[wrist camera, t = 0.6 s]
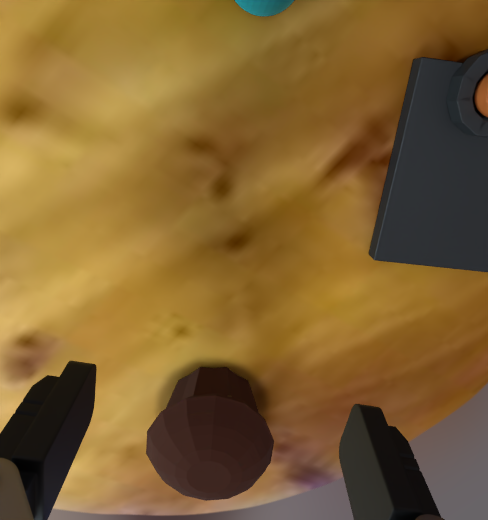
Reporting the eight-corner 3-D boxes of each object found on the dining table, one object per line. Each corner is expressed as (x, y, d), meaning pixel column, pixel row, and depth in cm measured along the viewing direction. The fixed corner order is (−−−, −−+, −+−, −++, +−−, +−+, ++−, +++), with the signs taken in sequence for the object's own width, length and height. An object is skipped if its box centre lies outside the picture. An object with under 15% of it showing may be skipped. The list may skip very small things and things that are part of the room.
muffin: (283, 373, 45) (298, 444, 36) (247, 454, 49) (251, 537, 39) (173, 342, 44) (159, 407, 34) (143, 427, 47) (123, 508, 38)
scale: (417, 42, 35) (436, 35, 32) (556, 62, 36) (589, 58, 33) (368, 254, 41) (380, 267, 38) (488, 267, 42) (510, 281, 39)
